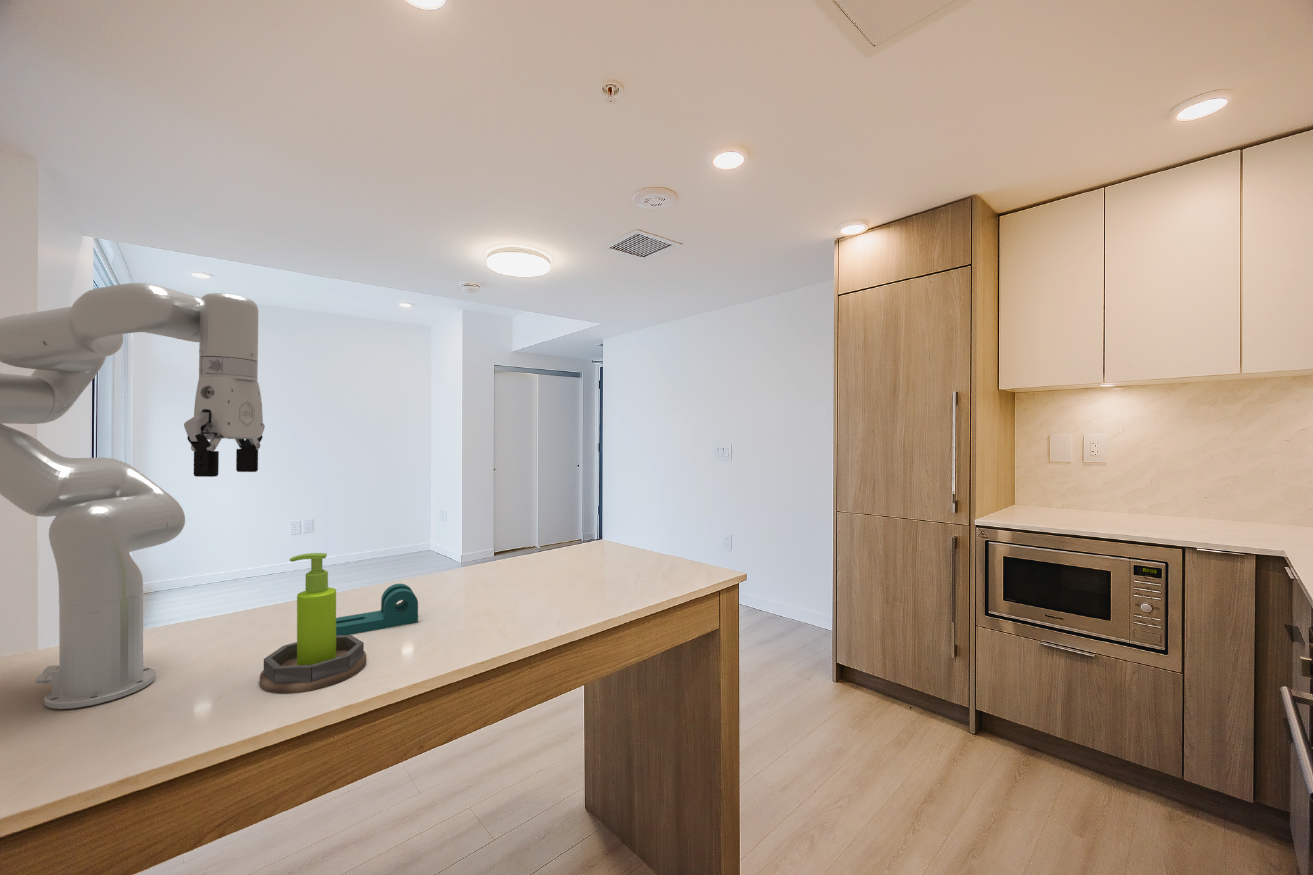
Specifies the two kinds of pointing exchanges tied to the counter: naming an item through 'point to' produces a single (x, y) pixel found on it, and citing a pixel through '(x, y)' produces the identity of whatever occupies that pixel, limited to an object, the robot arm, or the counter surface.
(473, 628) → the counter surface
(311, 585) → the soap dispenser
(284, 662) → the collar stand
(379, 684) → the counter surface
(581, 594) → the counter surface
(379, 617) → the bracket
